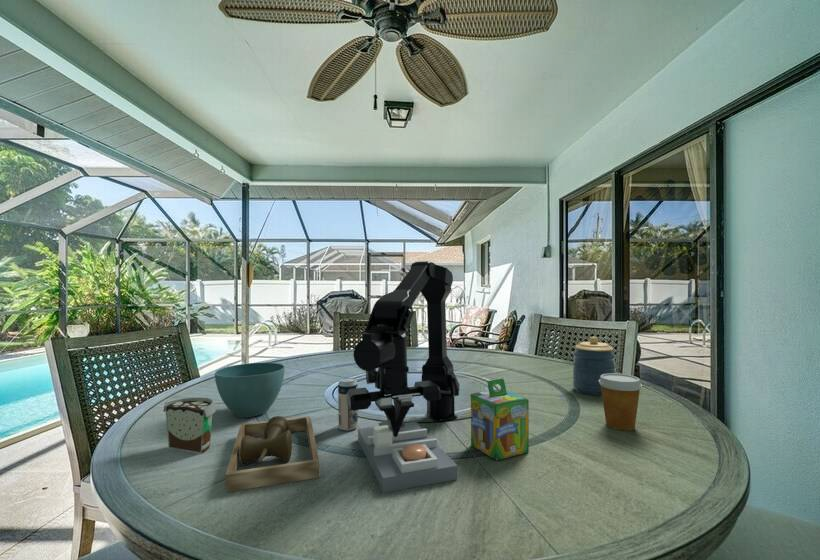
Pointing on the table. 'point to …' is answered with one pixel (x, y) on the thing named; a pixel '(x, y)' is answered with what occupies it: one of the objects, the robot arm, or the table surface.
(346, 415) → the beer can
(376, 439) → the slider knob
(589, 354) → the canister
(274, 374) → the teal bowl
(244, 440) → the kendama
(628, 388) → the disposable coffee cup
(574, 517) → the table surface
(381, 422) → the rocker switch
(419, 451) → the push button
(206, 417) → the food container
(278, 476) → the tray
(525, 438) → the chalk box
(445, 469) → the panel
